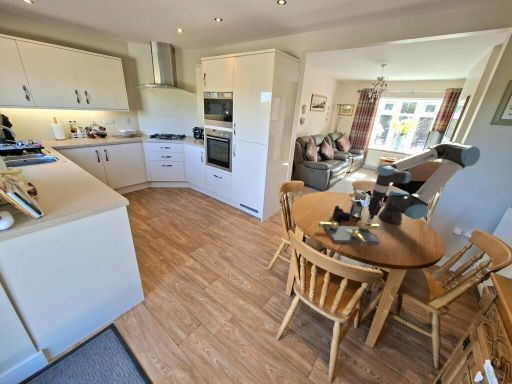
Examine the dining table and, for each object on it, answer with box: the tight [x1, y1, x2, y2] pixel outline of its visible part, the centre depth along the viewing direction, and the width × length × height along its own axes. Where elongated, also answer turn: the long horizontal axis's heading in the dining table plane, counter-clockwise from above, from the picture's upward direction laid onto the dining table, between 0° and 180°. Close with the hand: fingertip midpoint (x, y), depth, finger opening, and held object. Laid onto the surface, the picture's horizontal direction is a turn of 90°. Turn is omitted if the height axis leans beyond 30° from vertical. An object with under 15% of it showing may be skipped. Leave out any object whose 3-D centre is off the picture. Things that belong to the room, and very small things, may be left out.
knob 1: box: [318, 220, 339, 231], centre depth 134 cm, size 12×5×4 cm, turn 93°
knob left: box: [351, 229, 368, 247], centre depth 124 cm, size 12×5×4 cm, turn 3°
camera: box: [332, 205, 351, 226], centre depth 148 cm, size 14×11×10 cm
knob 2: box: [358, 222, 381, 232], centre depth 136 cm, size 12×5×4 cm, turn 93°
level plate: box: [324, 225, 380, 245], centre depth 133 cm, size 28×16×3 cm, turn 93°
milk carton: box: [349, 189, 367, 217], centre depth 157 cm, size 7×7×20 cm
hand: (369, 222), depth 142 cm, fingers closed
